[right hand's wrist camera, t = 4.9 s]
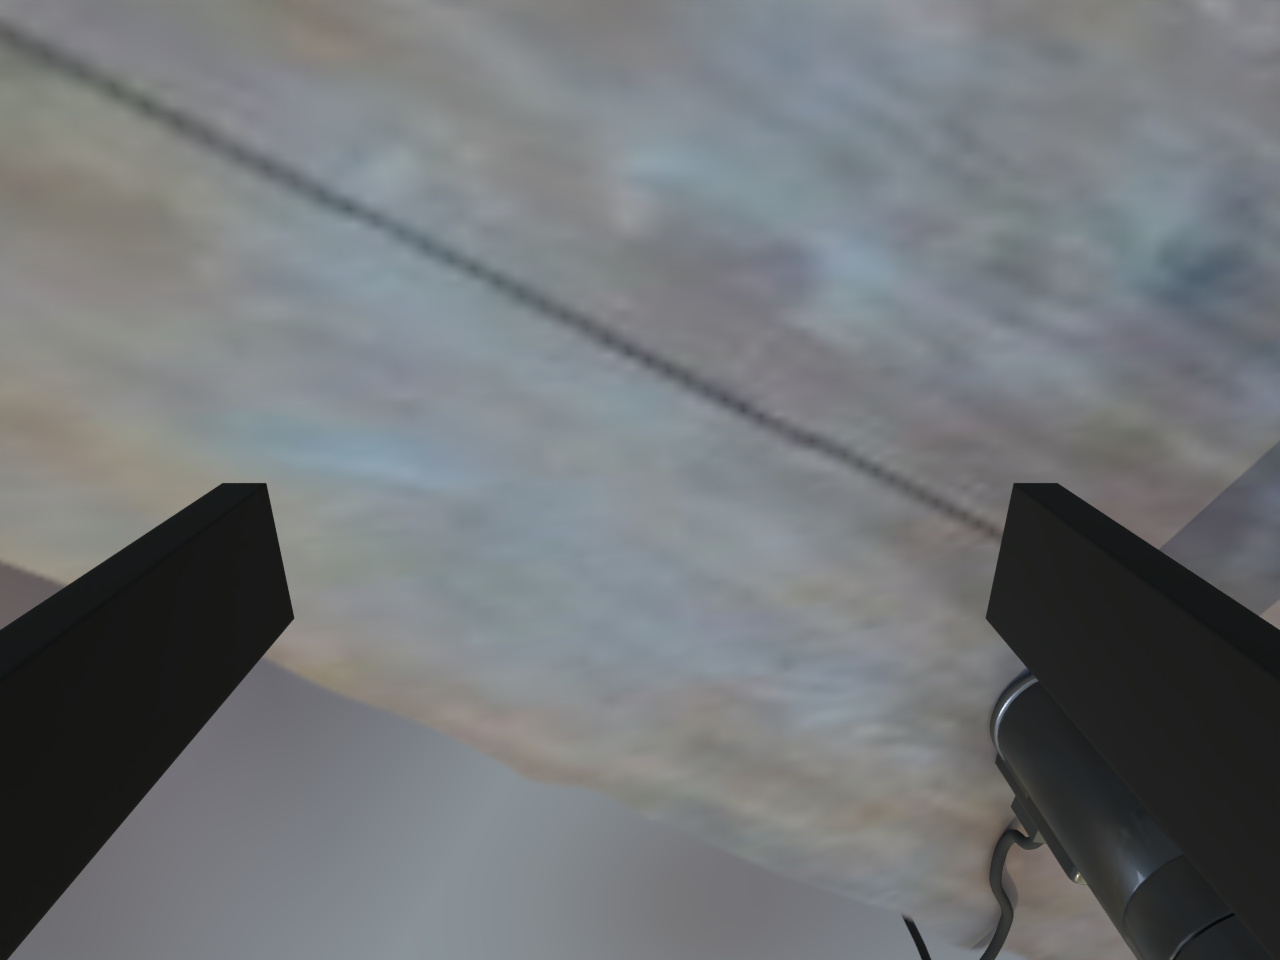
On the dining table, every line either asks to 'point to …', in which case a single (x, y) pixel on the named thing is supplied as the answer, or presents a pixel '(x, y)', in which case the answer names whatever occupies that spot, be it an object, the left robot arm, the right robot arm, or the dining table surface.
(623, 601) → the dining table surface
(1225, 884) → the right robot arm
